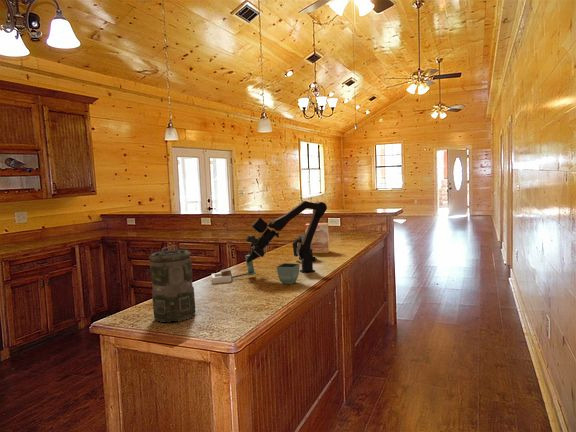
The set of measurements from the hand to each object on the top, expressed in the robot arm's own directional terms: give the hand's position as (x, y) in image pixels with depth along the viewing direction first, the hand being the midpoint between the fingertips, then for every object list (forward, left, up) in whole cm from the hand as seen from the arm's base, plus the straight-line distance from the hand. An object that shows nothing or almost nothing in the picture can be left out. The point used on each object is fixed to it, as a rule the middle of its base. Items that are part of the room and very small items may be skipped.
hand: (246, 261), depth 225 cm
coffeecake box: (+34, -67, -9) cm, 76 cm away
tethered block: (+1, +4, -8) cm, 9 cm away
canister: (-40, +49, -9) cm, 64 cm away
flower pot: (-25, -11, -9) cm, 29 cm away
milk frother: (+18, -49, -9) cm, 53 cm away
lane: (+4, +13, -9) cm, 16 cm away
